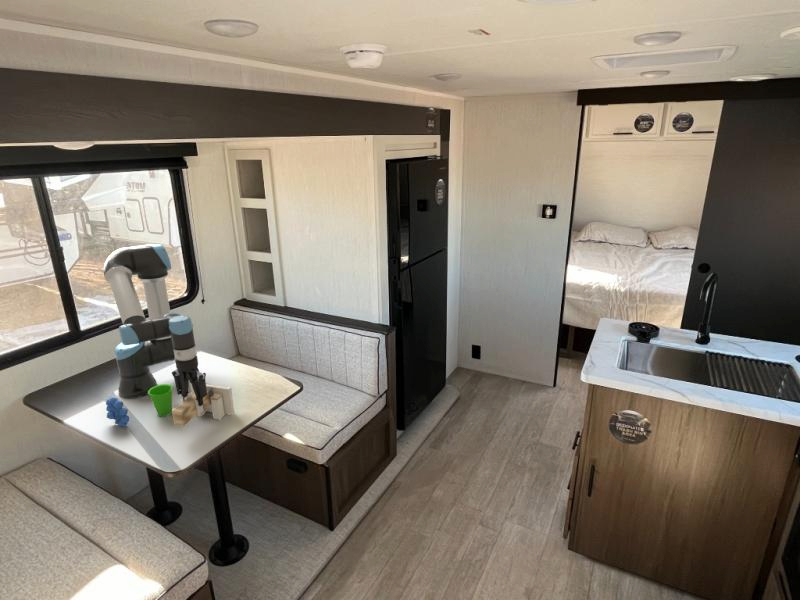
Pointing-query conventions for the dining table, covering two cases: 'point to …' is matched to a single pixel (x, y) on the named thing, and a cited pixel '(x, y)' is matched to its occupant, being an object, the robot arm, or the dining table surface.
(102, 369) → the dining table surface
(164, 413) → the cup
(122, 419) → the grapes
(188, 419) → the block
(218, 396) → the headboard
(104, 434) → the dining table surface
